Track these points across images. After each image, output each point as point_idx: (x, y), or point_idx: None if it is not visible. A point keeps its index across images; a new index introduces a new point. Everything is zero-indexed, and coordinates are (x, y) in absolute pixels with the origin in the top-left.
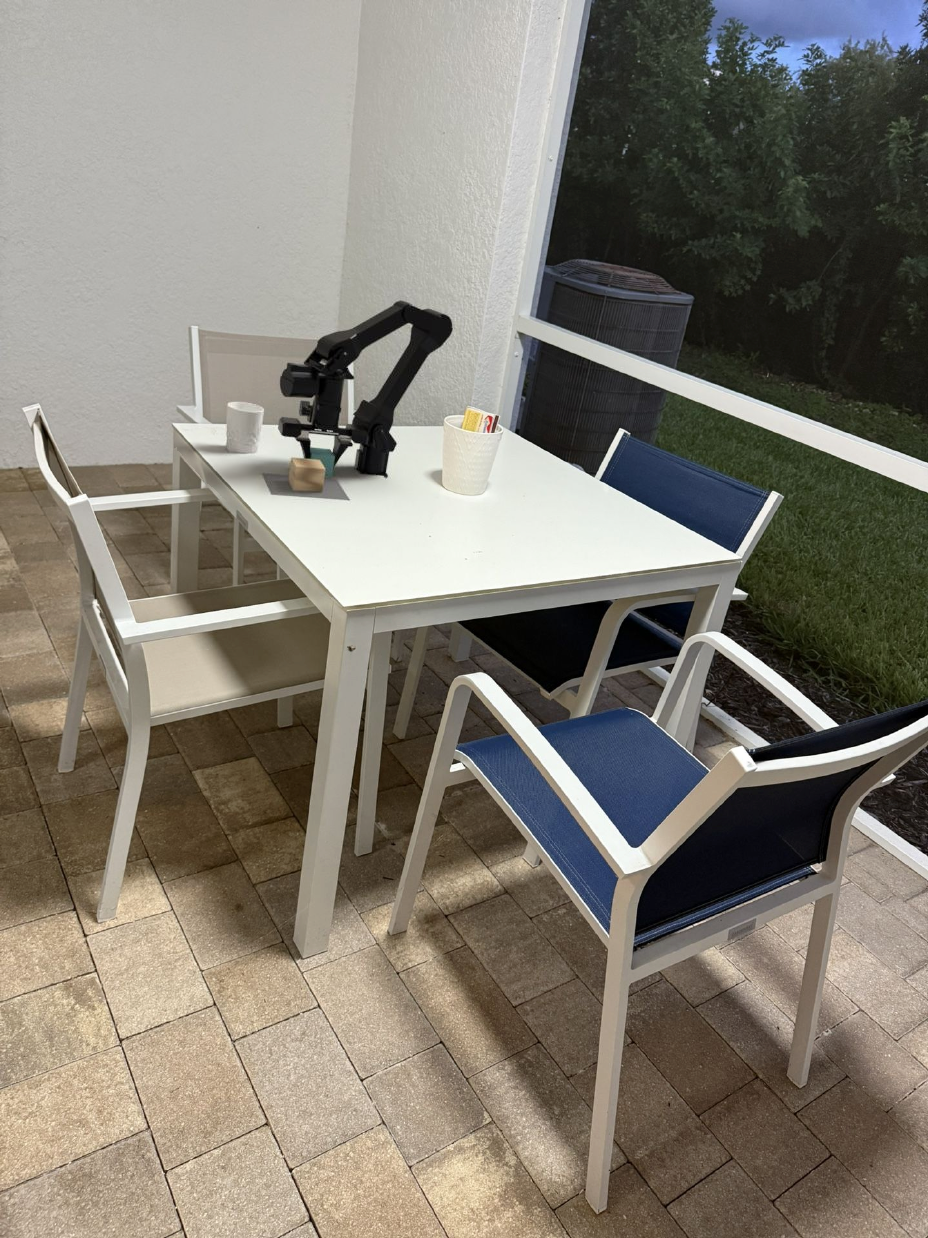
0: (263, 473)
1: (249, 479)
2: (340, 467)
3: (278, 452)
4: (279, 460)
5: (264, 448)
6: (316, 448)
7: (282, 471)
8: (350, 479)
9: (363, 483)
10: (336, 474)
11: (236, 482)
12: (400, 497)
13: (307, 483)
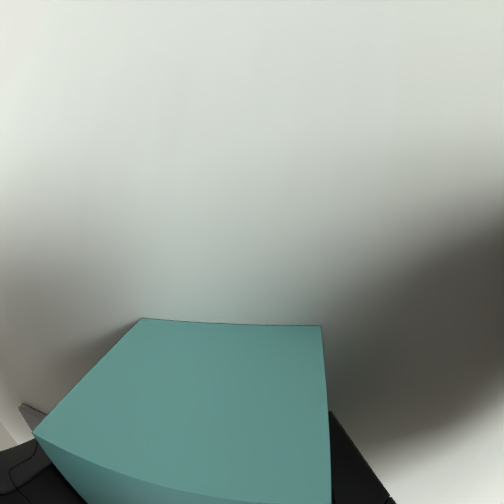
0: (22, 411)
1: (19, 424)
2: (465, 197)
3: (40, 23)
4: (17, 179)
5: (9, 14)
6: (122, 485)
7: (52, 368)
8: (421, 431)
9: (455, 451)
10: (371, 383)
11: (13, 434)
12: (487, 493)
13: None
